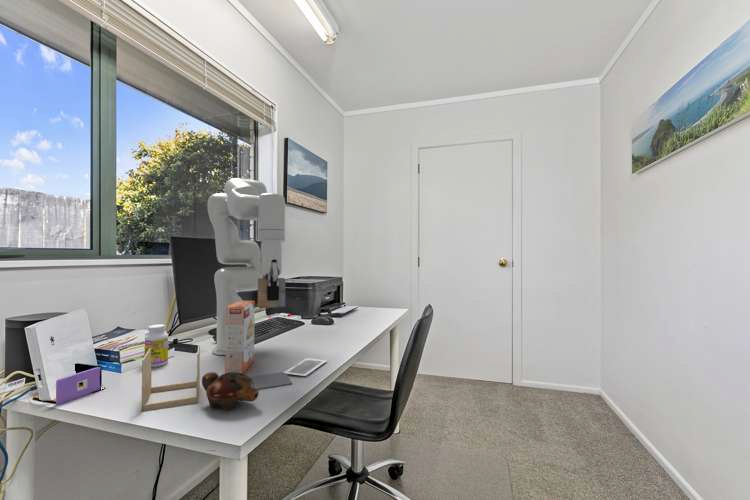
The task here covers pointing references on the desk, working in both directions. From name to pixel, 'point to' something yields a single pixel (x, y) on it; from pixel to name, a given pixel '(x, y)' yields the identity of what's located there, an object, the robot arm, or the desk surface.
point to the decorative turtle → (228, 389)
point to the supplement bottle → (157, 345)
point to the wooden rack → (165, 386)
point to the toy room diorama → (77, 384)
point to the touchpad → (305, 367)
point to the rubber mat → (270, 380)
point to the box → (263, 294)
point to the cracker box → (239, 336)
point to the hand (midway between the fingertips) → (271, 298)
